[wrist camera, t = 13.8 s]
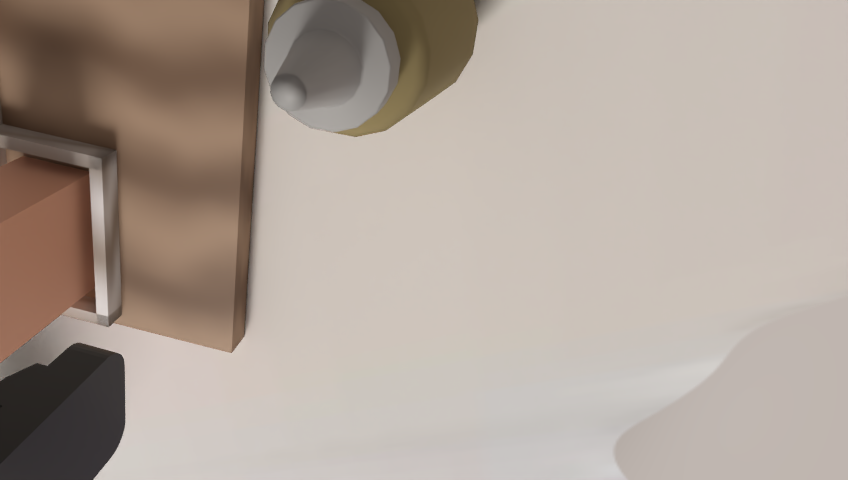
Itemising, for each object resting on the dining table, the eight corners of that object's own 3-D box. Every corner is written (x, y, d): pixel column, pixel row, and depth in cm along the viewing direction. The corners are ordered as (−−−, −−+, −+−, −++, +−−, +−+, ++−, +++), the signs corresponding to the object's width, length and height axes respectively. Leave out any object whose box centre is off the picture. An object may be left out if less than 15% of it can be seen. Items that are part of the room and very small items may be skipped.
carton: (92, 172, 43) (-19, 233, 35) (97, 285, 46) (-2, 364, 38) (21, 155, 43) (-104, 211, 35) (31, 269, 47) (-80, 343, 39)
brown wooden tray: (-13, -92, 39) (-63, -91, 36) (266, -36, 38) (238, -31, 35) (25, 281, 50) (-11, 306, 47) (244, 336, 48) (221, 366, 45)
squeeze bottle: (344, 90, 40) (191, 214, 24) (327, -67, 37) (137, -45, 21) (488, 88, 38) (427, 218, 22) (484, -76, 35) (411, -61, 19)
